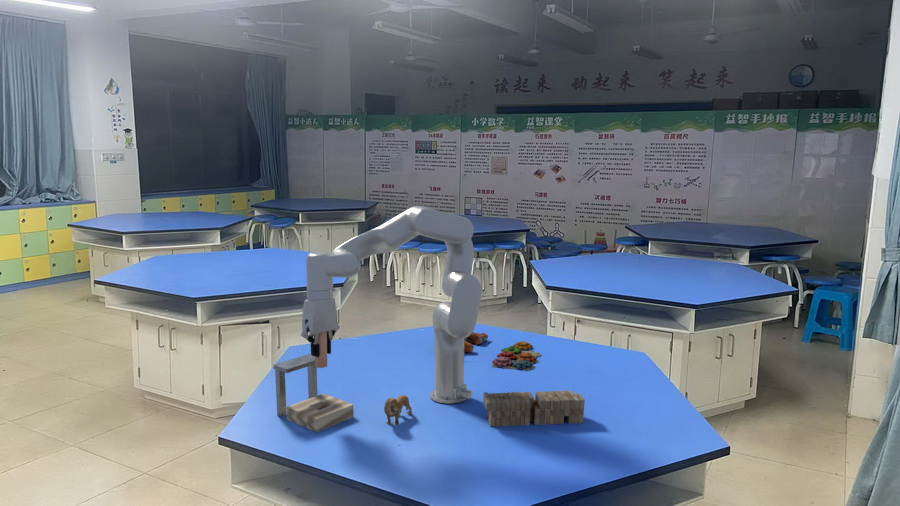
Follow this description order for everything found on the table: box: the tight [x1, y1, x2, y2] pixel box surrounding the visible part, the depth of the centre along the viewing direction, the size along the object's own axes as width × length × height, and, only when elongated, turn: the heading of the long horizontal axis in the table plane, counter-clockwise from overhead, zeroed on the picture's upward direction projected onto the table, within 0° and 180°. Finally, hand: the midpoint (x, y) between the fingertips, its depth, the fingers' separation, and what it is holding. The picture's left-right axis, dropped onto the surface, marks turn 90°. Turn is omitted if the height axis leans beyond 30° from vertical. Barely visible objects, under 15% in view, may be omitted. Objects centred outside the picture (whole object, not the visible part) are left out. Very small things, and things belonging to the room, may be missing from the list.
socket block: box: [286, 393, 355, 433], centre depth 195 cm, size 14×14×4 cm
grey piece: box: [273, 353, 319, 418], centre depth 199 cm, size 6×15×16 cm, turn 140°
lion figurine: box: [383, 394, 413, 426], centre depth 193 cm, size 15×5×9 cm, turn 164°
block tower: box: [482, 390, 585, 428], centre depth 193 cm, size 8×8×29 cm
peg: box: [315, 332, 328, 369], centre depth 193 cm, size 4×4×11 cm
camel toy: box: [464, 331, 489, 353], centre depth 265 cm, size 25×13×17 cm
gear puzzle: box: [491, 340, 542, 372], centre depth 253 cm, size 31×16×4 cm, turn 162°
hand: (321, 353), depth 193 cm, fingers closed on peg, 3 cm apart
